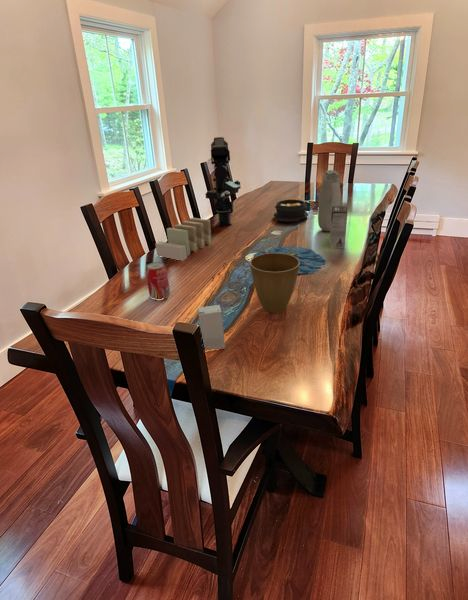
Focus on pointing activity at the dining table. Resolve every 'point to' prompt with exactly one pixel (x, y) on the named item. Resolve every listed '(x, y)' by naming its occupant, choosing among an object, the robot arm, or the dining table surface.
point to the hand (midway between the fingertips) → (223, 209)
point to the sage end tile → (179, 238)
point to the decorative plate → (300, 257)
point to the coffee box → (338, 226)
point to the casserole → (290, 210)
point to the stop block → (171, 250)
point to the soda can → (157, 280)
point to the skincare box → (211, 327)
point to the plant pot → (274, 279)
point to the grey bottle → (328, 198)
